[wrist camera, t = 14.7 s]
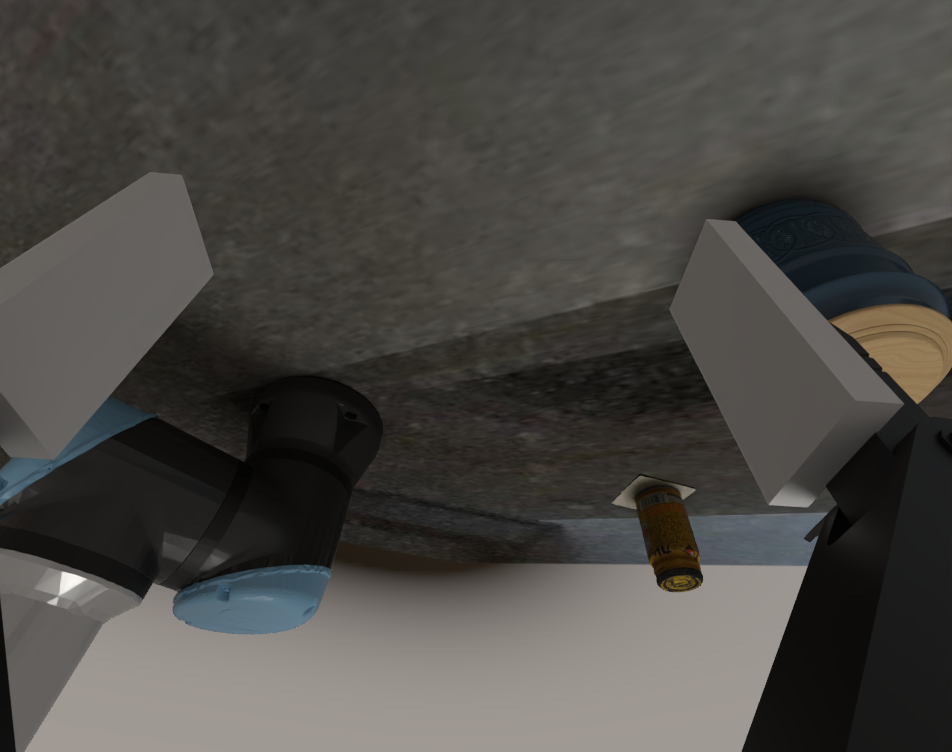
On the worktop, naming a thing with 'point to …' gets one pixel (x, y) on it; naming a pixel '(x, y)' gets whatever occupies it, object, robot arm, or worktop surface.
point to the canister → (859, 288)
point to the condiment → (665, 531)
